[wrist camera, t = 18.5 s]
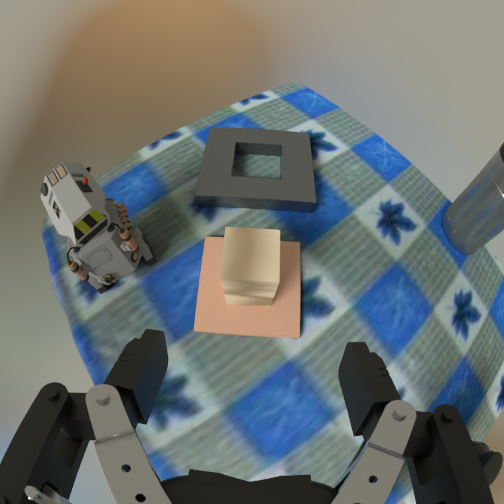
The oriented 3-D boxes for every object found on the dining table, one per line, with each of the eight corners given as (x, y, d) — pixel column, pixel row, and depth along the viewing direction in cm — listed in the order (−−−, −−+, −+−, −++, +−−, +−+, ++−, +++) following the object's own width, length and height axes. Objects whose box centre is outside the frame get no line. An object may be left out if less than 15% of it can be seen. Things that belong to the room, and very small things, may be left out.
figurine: (134, 208, 37) (94, 133, 24) (162, 272, 33) (115, 206, 20) (83, 237, 35) (28, 176, 22) (104, 305, 31) (32, 259, 18)
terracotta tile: (299, 244, 35) (299, 242, 35) (298, 338, 30) (299, 337, 30) (206, 238, 36) (205, 236, 35) (194, 331, 30) (193, 330, 30)
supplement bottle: (456, 454, 22) (511, 463, 11) (424, 486, 21) (475, 507, 10) (443, 427, 24) (503, 432, 14) (409, 460, 23) (465, 480, 12)
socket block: (306, 144, 43) (309, 133, 41) (312, 212, 38) (316, 202, 35) (211, 138, 43) (210, 127, 41) (197, 205, 38) (194, 195, 35)
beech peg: (271, 266, 33) (280, 229, 25) (270, 306, 31) (279, 281, 23) (230, 264, 33) (225, 226, 25) (226, 304, 31) (220, 278, 23)
